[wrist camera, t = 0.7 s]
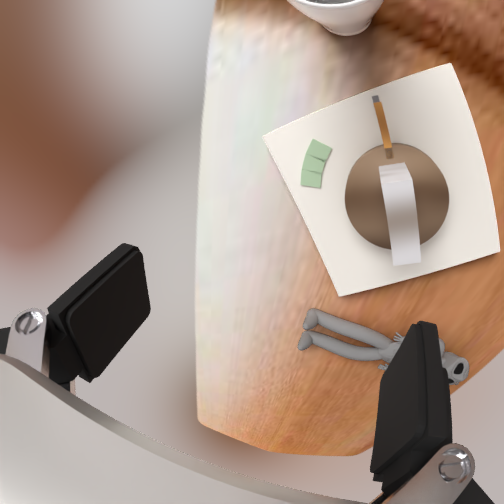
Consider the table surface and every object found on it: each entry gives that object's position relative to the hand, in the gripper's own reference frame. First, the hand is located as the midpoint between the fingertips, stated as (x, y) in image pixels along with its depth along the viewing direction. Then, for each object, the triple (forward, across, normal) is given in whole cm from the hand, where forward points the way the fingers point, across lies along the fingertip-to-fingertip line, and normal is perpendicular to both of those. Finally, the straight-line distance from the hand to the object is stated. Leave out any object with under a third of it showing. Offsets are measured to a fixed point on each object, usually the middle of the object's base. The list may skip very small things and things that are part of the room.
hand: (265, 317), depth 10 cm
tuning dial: (+22, -6, 0) cm, 23 cm away
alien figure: (+25, -13, +23) cm, 36 cm away
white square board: (+24, -7, +2) cm, 25 cm away
